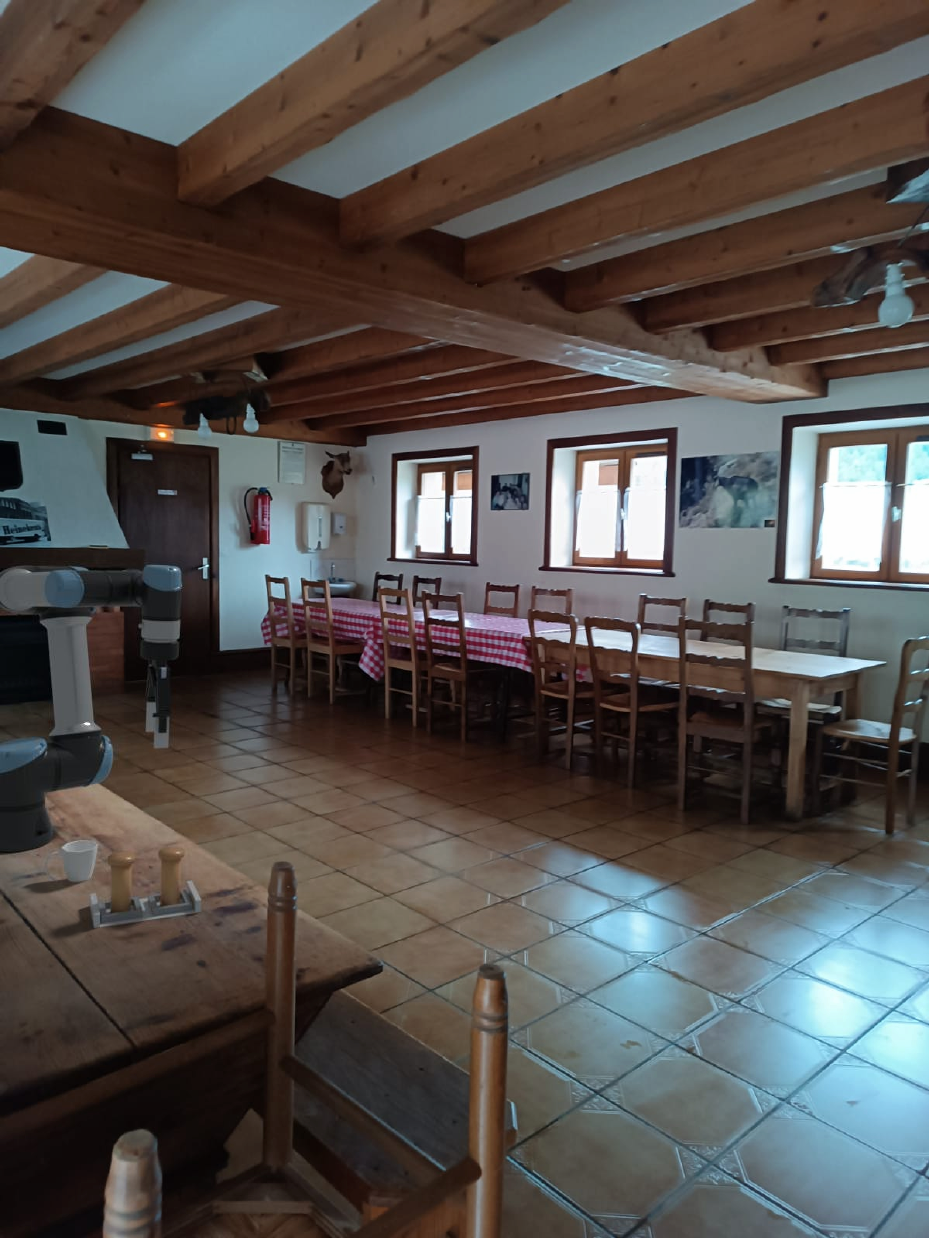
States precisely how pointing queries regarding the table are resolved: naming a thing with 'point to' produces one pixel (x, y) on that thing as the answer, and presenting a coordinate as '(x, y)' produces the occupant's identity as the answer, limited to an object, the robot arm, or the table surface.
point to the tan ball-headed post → (170, 875)
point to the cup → (77, 860)
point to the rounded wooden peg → (120, 881)
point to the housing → (145, 908)
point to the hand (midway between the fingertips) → (156, 739)
